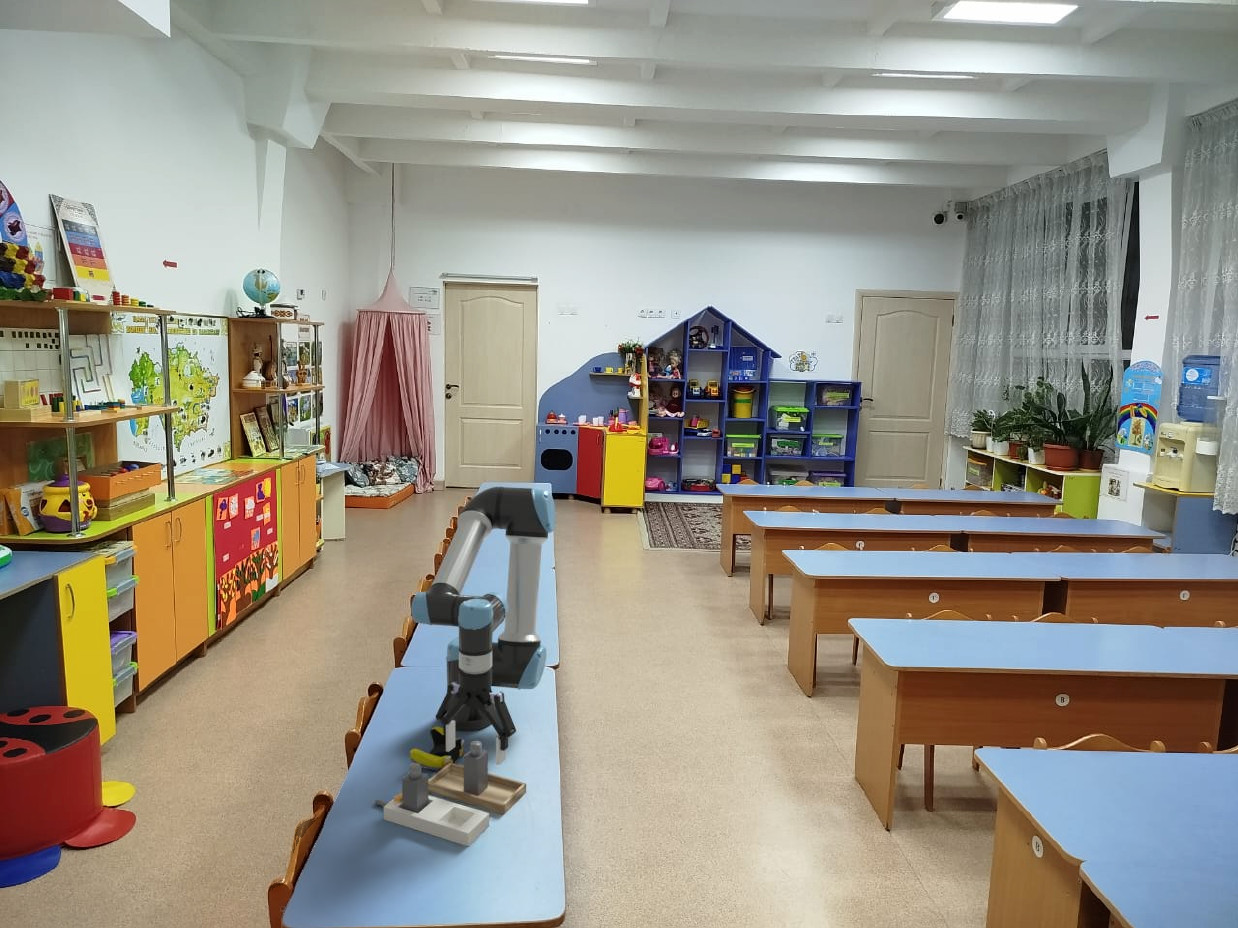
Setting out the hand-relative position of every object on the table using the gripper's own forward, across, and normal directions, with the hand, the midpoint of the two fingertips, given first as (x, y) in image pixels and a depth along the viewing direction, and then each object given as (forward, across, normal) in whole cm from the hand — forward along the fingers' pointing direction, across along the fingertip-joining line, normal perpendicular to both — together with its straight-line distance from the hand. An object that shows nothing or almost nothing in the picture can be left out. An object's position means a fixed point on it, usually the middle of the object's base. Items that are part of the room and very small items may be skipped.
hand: (475, 755), depth 192 cm
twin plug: (+9, -7, -14) cm, 18 cm away
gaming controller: (+10, -16, +9) cm, 21 cm away
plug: (+9, 0, 0) cm, 9 cm away
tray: (+9, 0, 0) cm, 9 cm away
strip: (+9, -4, -13) cm, 17 cm away
